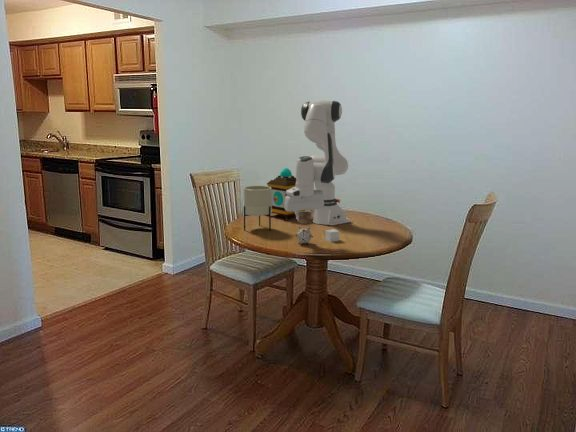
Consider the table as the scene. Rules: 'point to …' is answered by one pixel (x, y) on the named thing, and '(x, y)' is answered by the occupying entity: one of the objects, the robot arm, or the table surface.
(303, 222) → the walnut block
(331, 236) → the grey block
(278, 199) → the decorative lantern
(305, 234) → the game die
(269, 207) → the planter
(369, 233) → the table surface
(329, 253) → the table surface
